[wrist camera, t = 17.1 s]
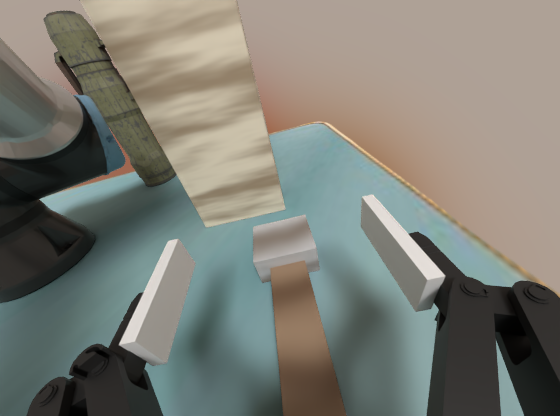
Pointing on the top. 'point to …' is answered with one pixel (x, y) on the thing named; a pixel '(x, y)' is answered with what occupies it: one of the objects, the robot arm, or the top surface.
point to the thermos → (107, 93)
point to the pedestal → (196, 98)
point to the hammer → (297, 318)
